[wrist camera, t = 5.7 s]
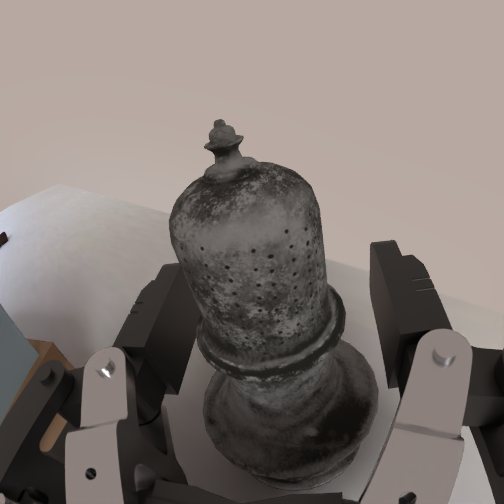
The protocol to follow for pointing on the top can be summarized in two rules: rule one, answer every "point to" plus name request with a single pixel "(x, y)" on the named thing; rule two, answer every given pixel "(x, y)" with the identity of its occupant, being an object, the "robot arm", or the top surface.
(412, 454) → the robot arm
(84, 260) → the top surface
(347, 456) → the salt shaker
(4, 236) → the kitchen knife
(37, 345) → the tower base
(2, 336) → the blue-grey square tray
